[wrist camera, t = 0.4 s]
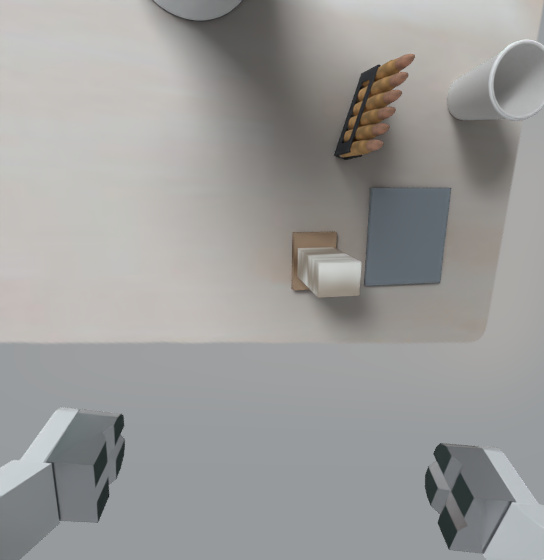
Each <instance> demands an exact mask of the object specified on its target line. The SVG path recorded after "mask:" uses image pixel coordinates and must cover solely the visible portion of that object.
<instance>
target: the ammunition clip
mask: <svg viewBox="0 0 544 560" xmlns="http://www.w3.org/2000/svg"><path fill="white" fill-rule="evenodd" d="M414 58H415V55H414V54H407V55H404V56H401V57H400V58H397V59H394V60H391V61H389V62H387V63H386V64H384V65H382V66H381V65H377V66H375V67H373V68H371V69H369V70H367V71H366V72H364V73H362V74H361V77H360V80H359V83H358V86H357V89H356V92H355V94H354V97H353V100H352V103H351V106H350V109H349V112H348V115H347V118H346V121H345V124H344V127H343V130H342V133H341V136H340V139H339V142H338V145H337V148H336V151H335V154H334V155H335V156H336V157H339V158H342V159H344V160H348V159H352V158H356V157H361V156H362V155H363V154H368V153H369V152H372V151H375V150H378V149H380V148H381V147H382V146H383V144H384V143H383V142H382V141H381V140H369V139H373V138H374V137H376V136H378V135H381V134H383V133H385V132H386V131H388V129H389V127H390V126H389V125H388V124H384V123H380V124H378V123H379V122H381V121H382V120H384V119H387V118H389V117H390V116H392V115H393V114H394V113H395V111H396V109H395V108H394V107H386V106H387V105H388V104H390V103H392V102H394V101H395V100H397V99H398V98H399V97H400V96H401V94H402V91H400V90H392V89H393V88H395V87H396V86H398V85H400V84H401V83H403V82H404V81H405V80H406V79H407V77H408V73H406V72H400V71H401V70H402V69H404V68H405V67H407V66H408V65H409V64H411V62H412V61H413V60H414ZM380 66H381V67H380ZM378 67H379V68H378ZM399 72H400V73H399ZM391 90H392V91H391Z"/></svg>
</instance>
